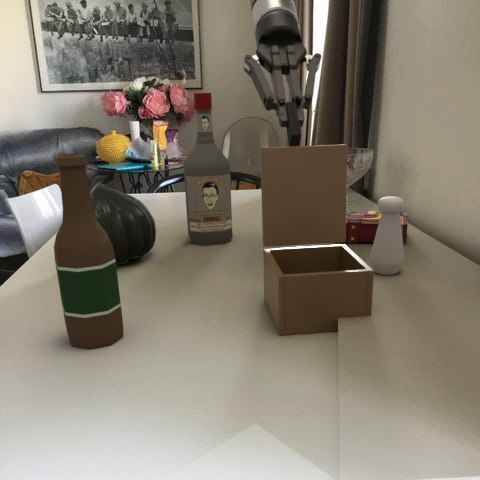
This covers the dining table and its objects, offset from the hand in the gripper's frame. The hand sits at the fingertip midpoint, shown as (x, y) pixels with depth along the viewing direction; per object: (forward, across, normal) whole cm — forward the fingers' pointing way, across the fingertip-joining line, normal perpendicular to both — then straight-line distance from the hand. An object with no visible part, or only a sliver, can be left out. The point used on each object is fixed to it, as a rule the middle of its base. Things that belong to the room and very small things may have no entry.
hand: (295, 141), depth 87 cm
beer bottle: (+29, +31, -4) cm, 42 cm away
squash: (+2, +31, -32) cm, 44 cm away
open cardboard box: (+26, 0, -6) cm, 27 cm away
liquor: (-7, +12, -40) cm, 42 cm away
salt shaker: (+14, -17, -19) cm, 29 cm away
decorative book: (-3, -21, -35) cm, 41 cm away
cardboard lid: (+10, 0, 0) cm, 10 cm away
